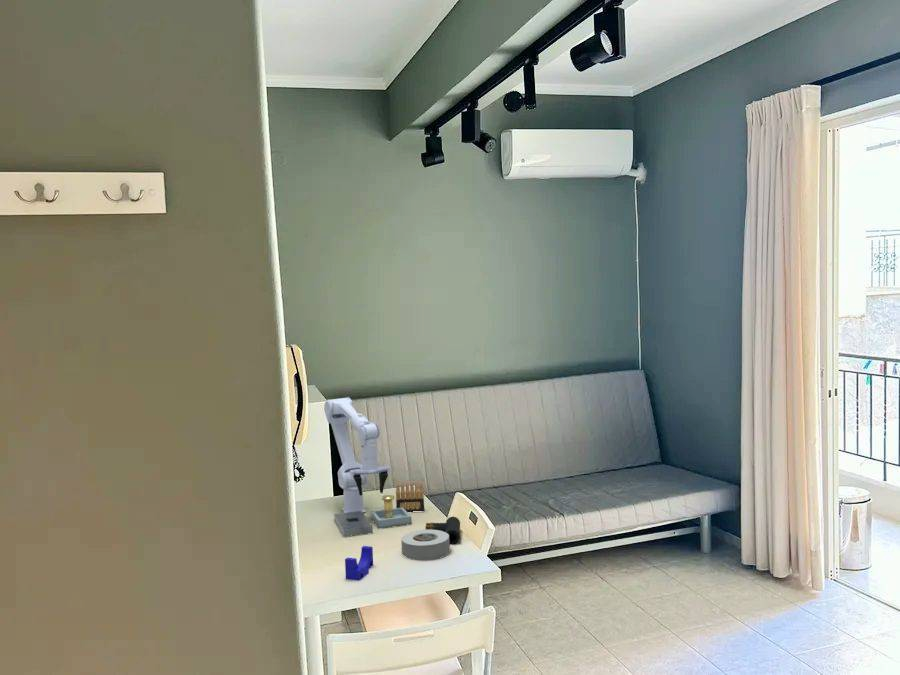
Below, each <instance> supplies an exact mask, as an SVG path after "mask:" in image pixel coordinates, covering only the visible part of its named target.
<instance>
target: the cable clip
mask: <svg viewBox="0 0 900 675" xmlns="http://www.w3.org/2000/svg"><path fill="white" fill-rule="evenodd" d="M373 549H374V548H373V546H370V545H369V546H367V545H363V546H362V547H361V550H360V551H361V552H360V557H359V561H358V559H357V558H354V557H346V558H344V569H345V579H346V580H356V581H360V580H362V579H363V578H364V577H366V576H367V575H368V574H369V573H370V568H372V567H373V566H374V552H373ZM371 566H372V567H371Z"/></svg>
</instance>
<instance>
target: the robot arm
mask: <svg viewBox="0 0 900 675" xmlns="http://www.w3.org/2000/svg"><path fill="white" fill-rule="evenodd" d="M353 404H354V403H353V400H352V399H351V398H350V397H349V396H347V397H342V398H334V399H333V398H332V399H326V400H325V402H324V407H323V409H324V411H323V412H324V413H325V417H326V421H327V423H328V424H330V425H331V429H332V431H333V432H332V433H333V436H334V439H335V443H336V446H337V450H338V453H339V456H340V460H341V464H342V465H341V466H340V467H339V469H338V471H337V478H338V479H337V480H338V486H339V488H341V489H342V490H343V506H342V507H341V510H342V511H343V513H347V512H356V511H362V513H363V512H365V513H367V510H366V508H365V507H364V488H365V486H366V484H367V482H368V475H375V474H378V480H379V493H380V494H383V493H384V488H385V483H386V481H387V480H388V477H389V473H391V467H390V466H389V465H387V466H379V465H378V462H379V461H378V441H377V440H378V439H379V437H380V433H381V432H380V428H379V425H378V423H377V422H370V421H369V420H368V418H367V417H366V416H364V415H363V413H358V412H357V410H355V408H354V405H353ZM349 420H350V421H349ZM348 421H349V422H350V426H351V427H352V428H353V429H354V430H355V431H356V432H357V437H358V439H359V440H358V442H359V445H360V447H361V448H360V449H361V450H360V451H361V463H360V462H358V461H356V459H355V456H354V455H355V454H354V452H353V448H352V445H351V440H350V437H349V434H348V431H347V427H346V424H345V423H346V422H348ZM363 514H364V513H363Z"/></svg>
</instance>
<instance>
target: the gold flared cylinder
mask: <svg viewBox="0 0 900 675" xmlns="http://www.w3.org/2000/svg"><path fill="white" fill-rule="evenodd" d="M394 499H395V495H392V494H386V495H383V496H381V500H382V501H383V506H384V507H383V508H384V509H383V510H384V512H385V519H387V518H393V509H394V508H393V507H394V506H393V500H394Z"/></svg>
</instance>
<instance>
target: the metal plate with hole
mask: <svg viewBox="0 0 900 675" xmlns="http://www.w3.org/2000/svg"><path fill="white" fill-rule="evenodd" d="M333 517H334V519H333V520H334V523H335V525H336V526H337V525H338V526H337V527H339V528H338V529H339V531H340V530H341V531H340V533H341V532H342V533H341V534H343V535H342V536H343V537H344V536H349V537H352V536H351V535H357V536H361V535H360V534H364V535H369V534H368V533H372V534H373V533H374V532H373V525H372V524H371V522H370V521H369V519H368V518H367V516H366V515H365V514H364V513H362V511H356V512H347V513H344V512H342V513H341V512H340V513H334V514H333Z"/></svg>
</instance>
